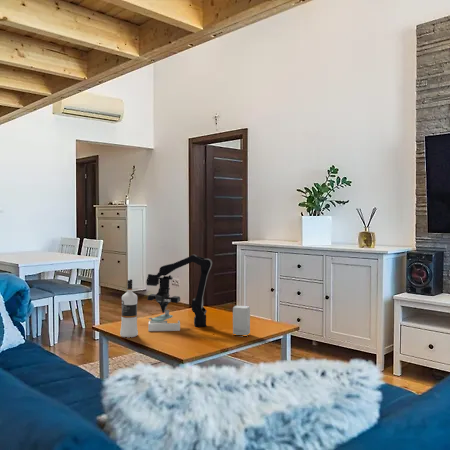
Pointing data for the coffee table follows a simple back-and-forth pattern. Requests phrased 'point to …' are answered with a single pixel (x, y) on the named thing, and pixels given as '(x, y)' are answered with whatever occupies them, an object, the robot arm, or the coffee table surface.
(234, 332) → the skincare box
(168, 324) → the channel
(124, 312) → the vodka
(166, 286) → the robot arm
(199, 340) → the coffee table surface
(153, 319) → the cover
